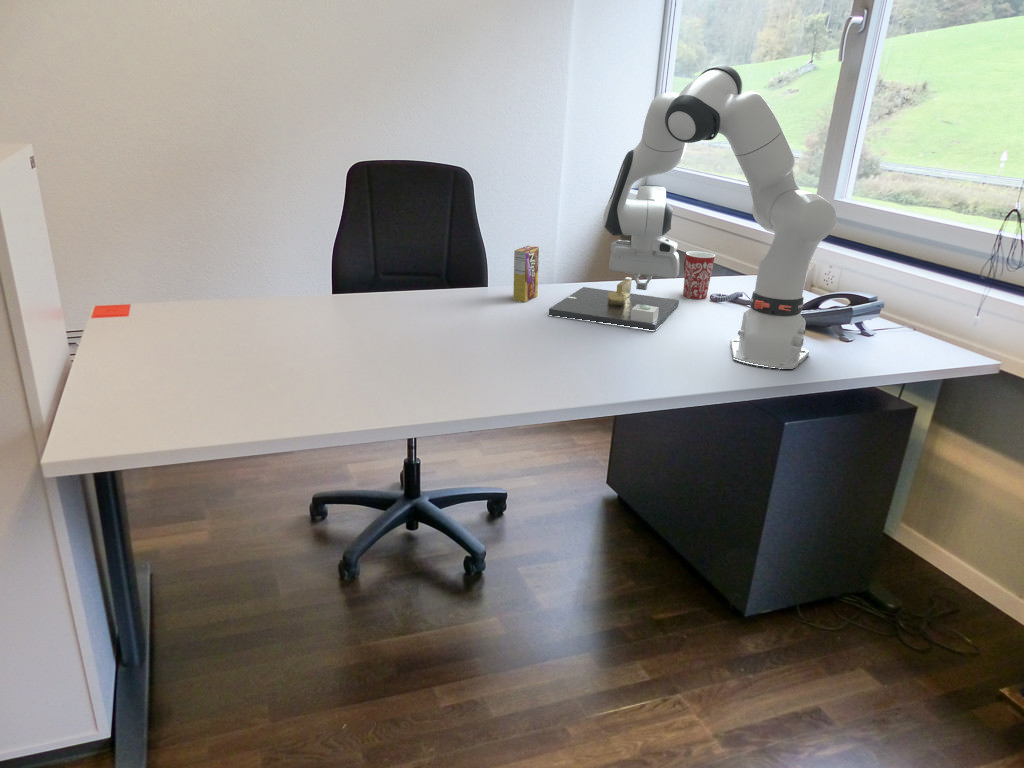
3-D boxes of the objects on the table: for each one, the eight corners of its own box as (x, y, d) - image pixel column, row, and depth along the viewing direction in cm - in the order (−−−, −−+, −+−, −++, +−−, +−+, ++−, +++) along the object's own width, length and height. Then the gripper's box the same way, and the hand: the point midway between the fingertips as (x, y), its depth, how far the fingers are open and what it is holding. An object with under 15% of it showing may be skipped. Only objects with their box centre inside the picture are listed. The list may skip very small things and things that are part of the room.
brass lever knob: (622, 306, 210) (624, 288, 208) (605, 304, 212) (607, 286, 210) (635, 295, 223) (637, 278, 221) (619, 293, 225) (621, 276, 223)
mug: (714, 299, 231) (720, 256, 226) (688, 300, 229) (693, 257, 224) (696, 289, 243) (702, 248, 238) (671, 290, 241) (675, 249, 236)
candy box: (525, 294, 228) (527, 245, 223) (537, 296, 226) (540, 246, 221) (511, 300, 221) (513, 249, 215) (524, 302, 219) (527, 251, 213)
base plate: (654, 332, 196) (656, 311, 194) (548, 315, 207) (549, 296, 205) (678, 306, 222) (680, 288, 220) (583, 293, 233) (584, 275, 231)
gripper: (608, 240, 214) (604, 287, 219) (680, 247, 207) (674, 295, 212) (613, 237, 219) (609, 283, 224) (683, 244, 213) (677, 291, 218)
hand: (641, 289), depth 218 cm, fingers closed
